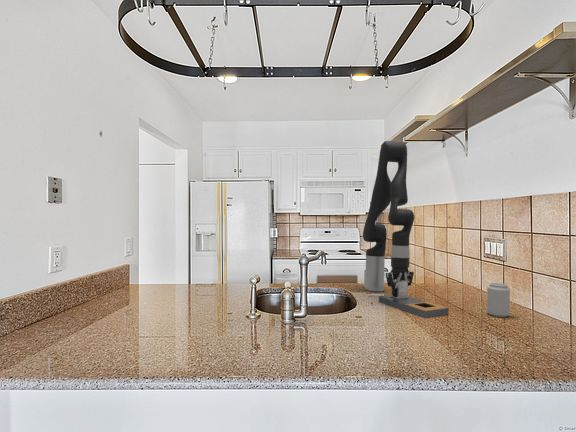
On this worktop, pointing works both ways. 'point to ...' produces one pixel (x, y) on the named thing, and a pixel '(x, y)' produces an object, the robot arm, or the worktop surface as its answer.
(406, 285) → the peg
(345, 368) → the worktop surface
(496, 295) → the can
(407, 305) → the grey peg board
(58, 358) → the worktop surface
